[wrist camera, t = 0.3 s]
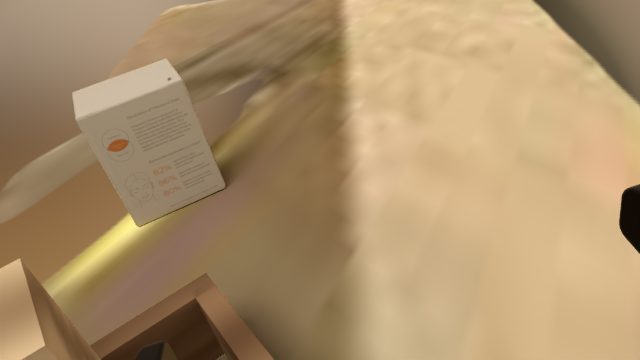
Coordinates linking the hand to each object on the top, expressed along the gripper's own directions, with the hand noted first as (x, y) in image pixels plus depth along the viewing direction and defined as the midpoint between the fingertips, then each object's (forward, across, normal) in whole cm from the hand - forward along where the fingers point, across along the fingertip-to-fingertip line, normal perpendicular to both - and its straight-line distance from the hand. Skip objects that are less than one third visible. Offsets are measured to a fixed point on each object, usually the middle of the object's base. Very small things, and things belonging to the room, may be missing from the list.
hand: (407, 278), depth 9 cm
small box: (+33, +10, +13) cm, 37 cm away
